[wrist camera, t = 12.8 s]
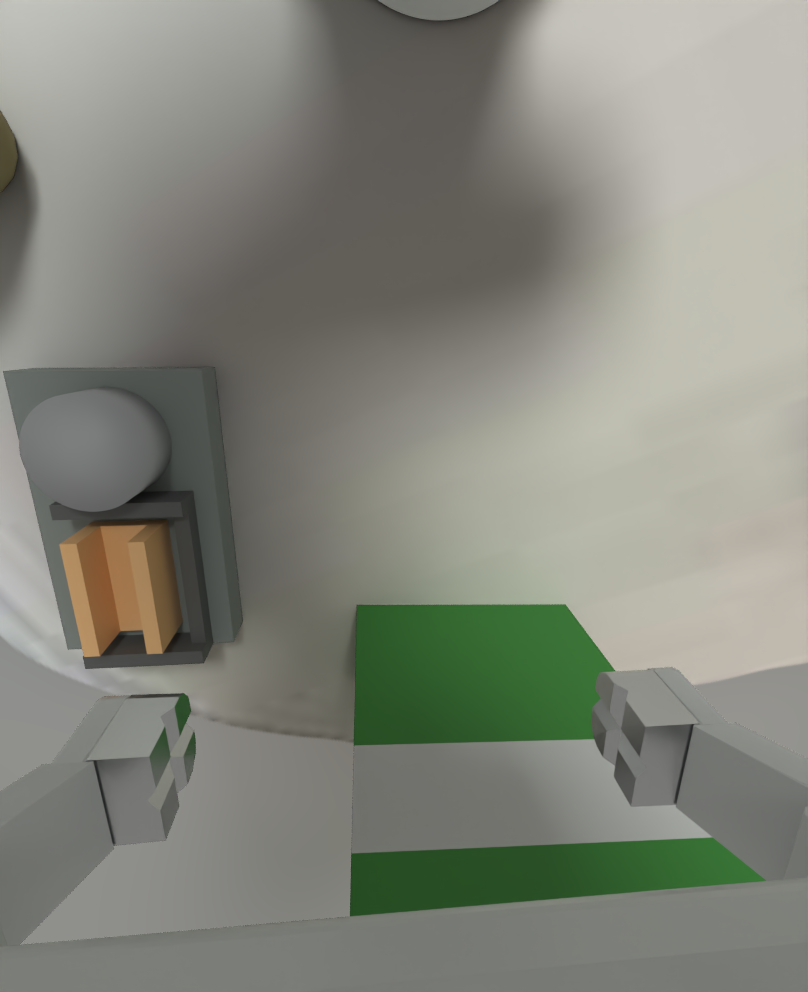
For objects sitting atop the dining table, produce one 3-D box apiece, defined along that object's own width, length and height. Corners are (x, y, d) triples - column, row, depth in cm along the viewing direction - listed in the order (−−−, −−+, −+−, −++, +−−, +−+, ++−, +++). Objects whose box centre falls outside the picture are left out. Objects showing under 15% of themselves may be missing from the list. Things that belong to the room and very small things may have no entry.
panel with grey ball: (32, 368, 34) (-47, 376, 28) (214, 367, 35) (179, 374, 29) (88, 627, 40) (34, 684, 34) (242, 620, 41) (219, 675, 35)
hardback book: (565, 604, 43) (792, 906, 20) (554, 678, 45) (747, 1025, 23) (356, 605, 42) (349, 931, 19) (355, 681, 44) (348, 1056, 21)
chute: (92, 521, 35) (59, 544, 31) (167, 519, 35) (143, 542, 31) (112, 624, 37) (84, 657, 33) (182, 621, 38) (162, 653, 34)
